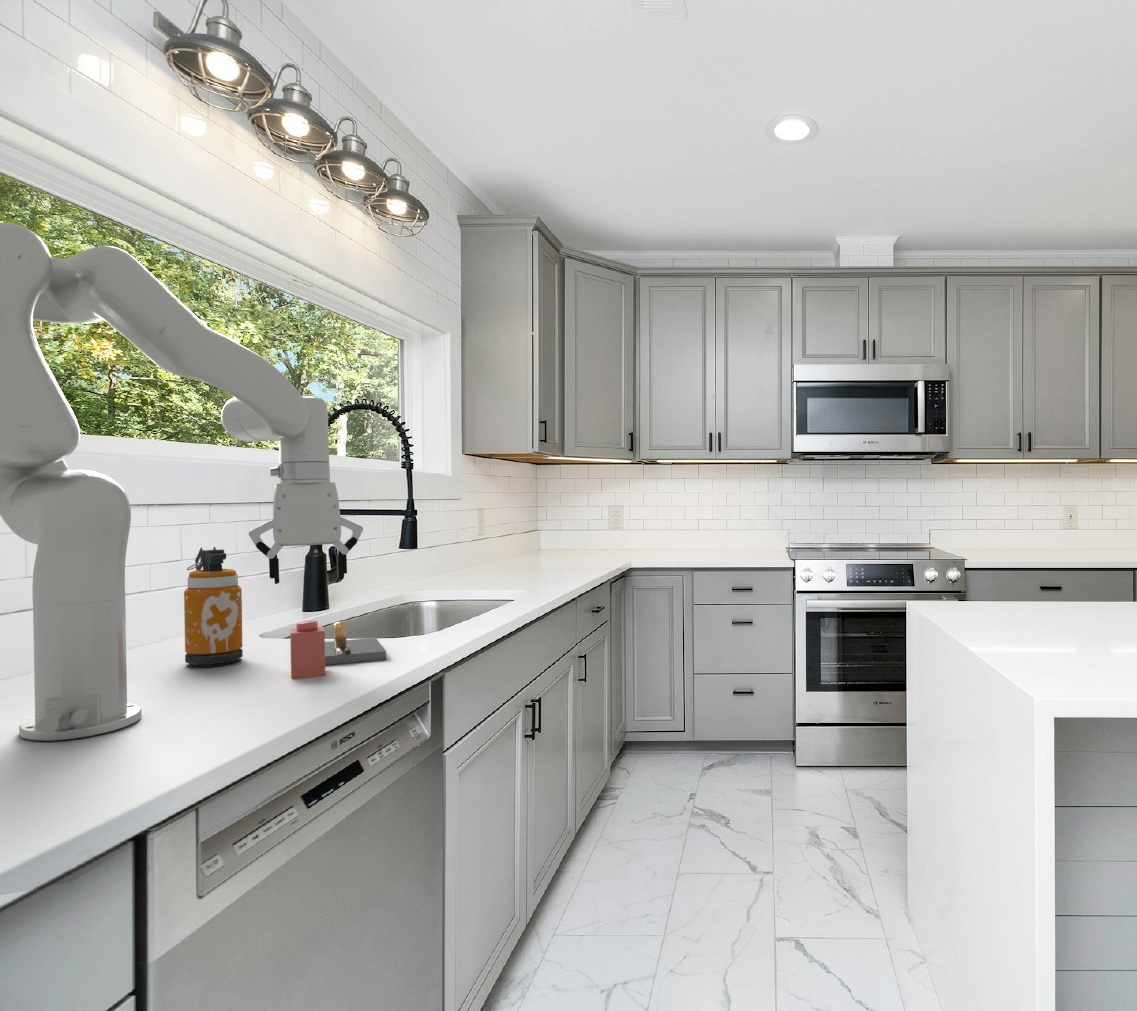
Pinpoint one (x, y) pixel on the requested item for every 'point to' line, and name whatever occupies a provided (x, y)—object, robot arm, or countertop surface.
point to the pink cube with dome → (307, 649)
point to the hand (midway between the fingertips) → (309, 580)
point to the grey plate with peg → (351, 648)
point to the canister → (212, 612)
